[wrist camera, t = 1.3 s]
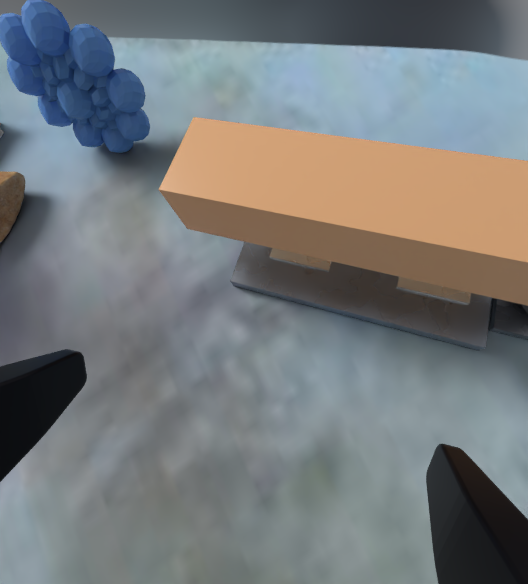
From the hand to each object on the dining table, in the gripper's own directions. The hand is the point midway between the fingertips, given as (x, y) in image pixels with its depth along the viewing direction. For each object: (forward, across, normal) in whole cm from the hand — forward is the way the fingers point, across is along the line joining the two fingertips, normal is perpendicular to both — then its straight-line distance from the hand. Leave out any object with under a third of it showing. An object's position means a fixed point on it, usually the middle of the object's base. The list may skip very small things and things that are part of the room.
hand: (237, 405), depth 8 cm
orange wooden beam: (+16, -4, 0) cm, 17 cm away
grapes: (+24, +20, -6) cm, 32 cm away
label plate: (+18, -3, 0) cm, 18 cm away
